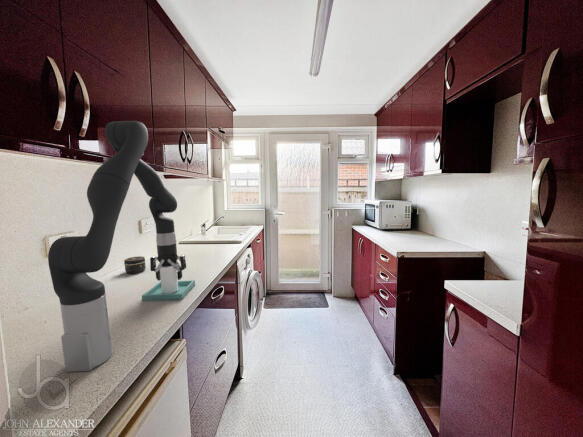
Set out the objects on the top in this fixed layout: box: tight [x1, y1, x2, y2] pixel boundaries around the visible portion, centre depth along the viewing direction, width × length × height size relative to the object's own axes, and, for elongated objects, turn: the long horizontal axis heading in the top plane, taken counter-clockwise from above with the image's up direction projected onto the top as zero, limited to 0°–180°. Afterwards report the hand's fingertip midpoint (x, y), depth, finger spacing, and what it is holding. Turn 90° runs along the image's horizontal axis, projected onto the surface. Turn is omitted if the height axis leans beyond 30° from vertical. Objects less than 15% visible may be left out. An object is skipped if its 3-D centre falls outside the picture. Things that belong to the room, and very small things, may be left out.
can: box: [160, 265, 179, 294], centre depth 113 cm, size 6×6×12 cm
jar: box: [123, 255, 146, 275], centre depth 146 cm, size 10×10×8 cm
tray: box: [141, 279, 196, 302], centre depth 114 cm, size 16×16×2 cm
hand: (169, 279), depth 114 cm, fingers open, 8 cm apart
